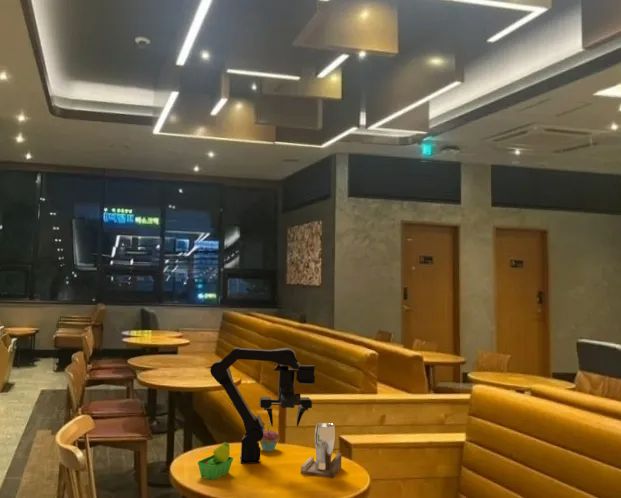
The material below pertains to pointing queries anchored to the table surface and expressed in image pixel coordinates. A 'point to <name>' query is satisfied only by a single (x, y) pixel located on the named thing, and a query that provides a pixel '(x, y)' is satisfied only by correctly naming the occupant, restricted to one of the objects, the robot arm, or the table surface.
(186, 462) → the table surface
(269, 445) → the cupcake
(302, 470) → the grey bracket
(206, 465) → the fruit basket
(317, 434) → the beer glass
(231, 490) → the table surface
